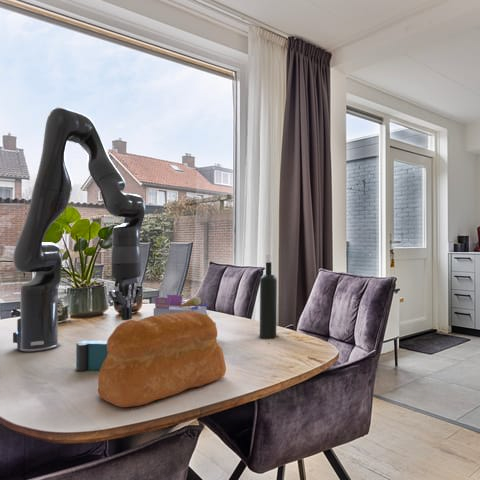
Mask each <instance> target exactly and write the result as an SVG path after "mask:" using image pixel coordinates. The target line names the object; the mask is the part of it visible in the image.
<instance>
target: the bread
mask: <svg viewBox="0 0 480 480" xmlns="http://www.w3.org/2000/svg"><path fill="white" fill-rule="evenodd" d="M214 322H215V321H214V320H213V319H212V318H211V317H210V316H209V315H208V314H207V315H205V314H202V313H198V312H193V311H185V312H182V313H173V314H162V315H157V316H154V315H150V316H146V317H144V318H141V319H139V320H136V319H135V320H134V319H130V320H125V321H122V323H119V324H118V325H117V326H116V327H115V328H114V330H113V331H112V333H111V334H110V336H109V337H108V339H107V340H106V341H107V351H108V355H107V357H106V359H105V361H104V362H103V364H102V367H101V369H100V370H99V373H98V377H97V378H98V379H97V380H98V381H97V383H98V387H97V392H98V395H99V397H100V398H101V399H102V400H103V401H105V402H107V403H110V404H112V405H114V406H116V407H119V408H131V407H137V406H138V407H139V406H143V405H146V404H149V403H152V402H154V401H156V400H161V399H164V398H166V397H172V396H175V395H178V394H180V393H182V392H183V391H186V390H188V389H194V388H197V387H202V386H204V385H208V384H211V383H213V382H215V381H218V380H220V379H222V378H223V377H224V376H225V375H226V372H227V365H226V360H225V356H224V352H223V349H222V347H221V346H220V344H219V342H218V340H217V337H218V328H217V324H216V325H215V323H216V322H215V323H214Z"/></svg>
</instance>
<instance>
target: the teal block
mask: <svg viewBox="0 0 480 480" xmlns="http://www.w3.org/2000/svg"><path fill="white" fill-rule="evenodd" d="M107 341H108V340H81V341H80V342H76V344H75V345H76V347H75V348H76V358H75V359H76V360H75V361H76V363H75V364H76V368H75V369H76V370H77V371H78V372H79V371H81V372H84V371H100V369H101V367H102V364H103V362H104V361H105V359H106V357H107V355H108V351H107Z"/></svg>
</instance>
